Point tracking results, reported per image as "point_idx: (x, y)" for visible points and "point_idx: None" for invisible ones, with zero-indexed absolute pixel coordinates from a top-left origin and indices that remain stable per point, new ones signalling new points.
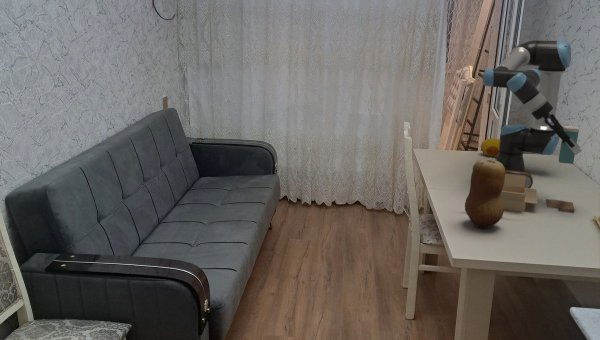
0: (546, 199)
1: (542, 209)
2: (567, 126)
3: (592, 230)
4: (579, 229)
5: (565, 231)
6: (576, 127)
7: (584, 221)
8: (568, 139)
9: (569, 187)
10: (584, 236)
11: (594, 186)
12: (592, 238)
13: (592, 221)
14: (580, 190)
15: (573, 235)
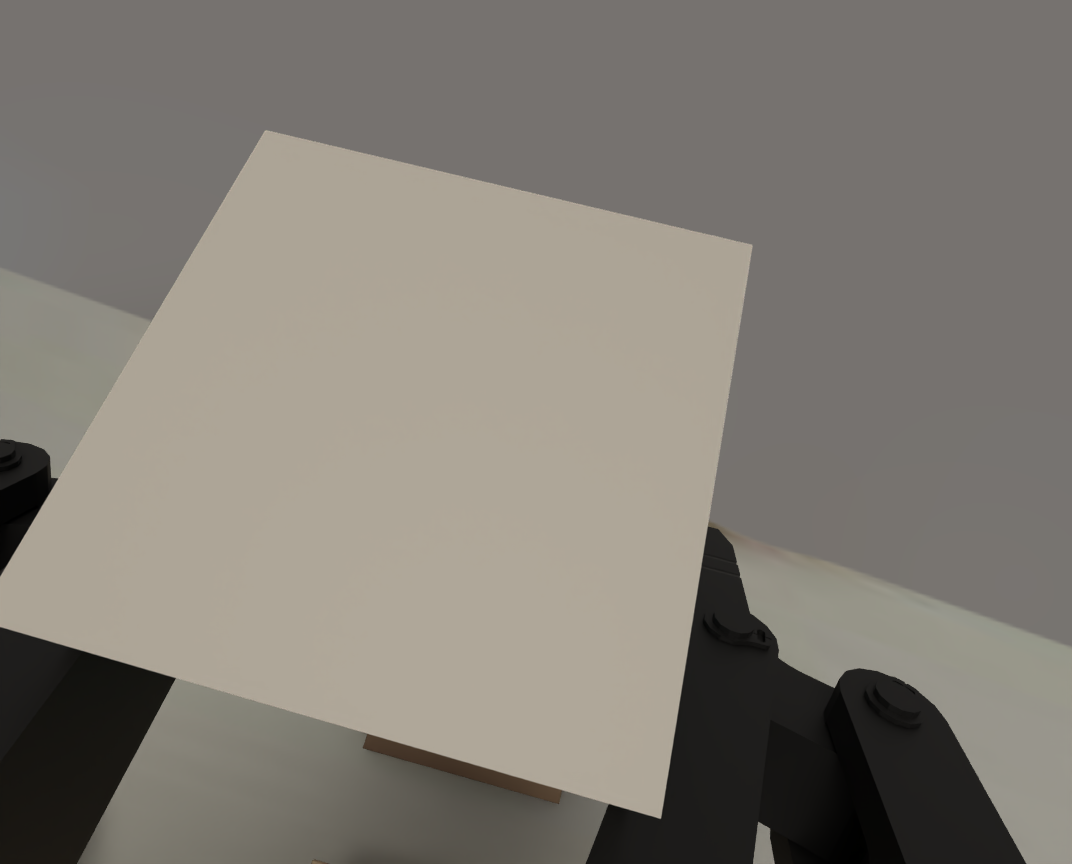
0: (375, 749)
1: (568, 840)
2: (216, 507)
3: (910, 601)
4: (926, 683)
5: (1009, 802)
6: (416, 224)
7: (754, 593)
8: (794, 679)
9: (6, 436)
10: (1046, 694)
11: (4, 269)
12: (1057, 653)
13: (737, 540)
14: (86, 386)
15: (1062, 767)
